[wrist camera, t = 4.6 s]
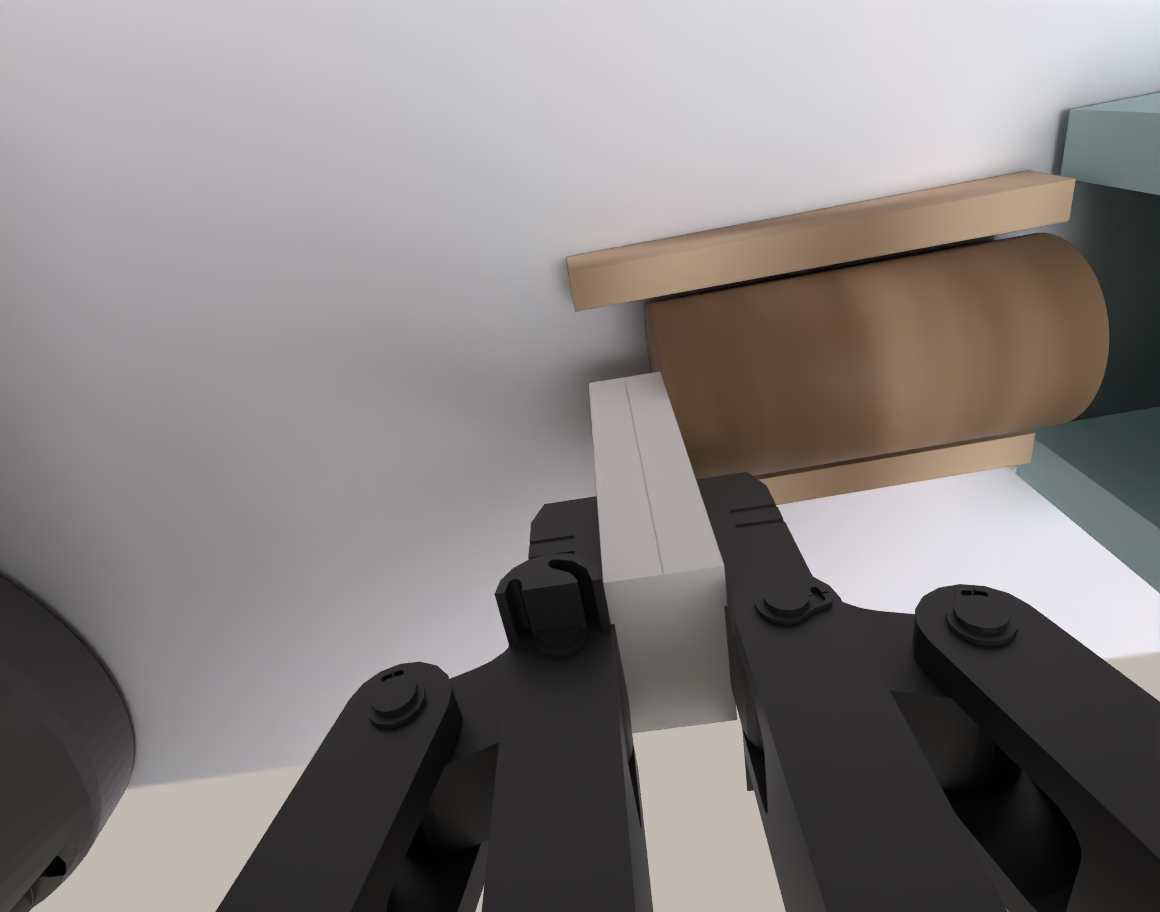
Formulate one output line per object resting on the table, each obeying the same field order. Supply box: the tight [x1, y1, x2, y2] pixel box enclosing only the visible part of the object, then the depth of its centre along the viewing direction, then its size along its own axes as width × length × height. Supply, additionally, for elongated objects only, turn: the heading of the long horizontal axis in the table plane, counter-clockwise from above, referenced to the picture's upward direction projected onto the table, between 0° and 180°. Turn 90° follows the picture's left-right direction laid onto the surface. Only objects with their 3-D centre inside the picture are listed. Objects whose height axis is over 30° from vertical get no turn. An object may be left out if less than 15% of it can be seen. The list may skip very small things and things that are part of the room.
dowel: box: [645, 233, 1109, 479], centre depth 15 cm, size 8×4×4 cm, turn 100°
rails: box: [567, 171, 1076, 505], centre depth 16 cm, size 10×6×2 cm, turn 100°
